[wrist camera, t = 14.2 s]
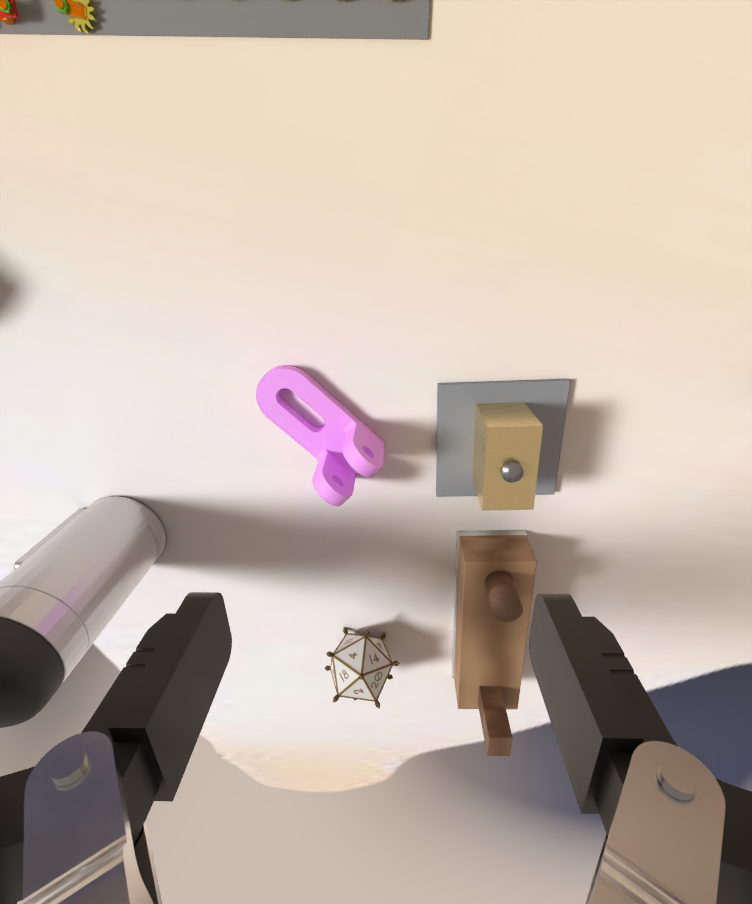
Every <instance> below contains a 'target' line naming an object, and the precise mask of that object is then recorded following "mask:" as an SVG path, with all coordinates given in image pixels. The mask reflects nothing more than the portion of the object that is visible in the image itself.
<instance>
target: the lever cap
mask: <svg viewBox="0 0 752 904" xmlns="http://www.w3.org/2000/svg"><path fill="white" fill-rule="evenodd" d="M542 431H543V425H542V424H541V423H540V421H539V420H538V419H537V418H536V416H535V415H534V414H533V413H532V411H531V410H530V409H529V408H528V407H527V405H526V404H525V403H524V402H517V403H484V404H475V424H474V445H473V465H472V481H473V484H474V487H475V490H476V493H477V496H478V499H479V502H480V505H481V508H482V510H529V509H533V507H534V499H535V490H536V482H537V473H538V465H539V456H540V448H541V440H542Z"/></svg>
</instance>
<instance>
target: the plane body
mask: <svg viewBox="0 0 752 904" xmlns="http://www.w3.org/2000/svg"><path fill="white" fill-rule="evenodd" d="M536 562H537V561H536V559H535V557H534V554H533V552H532V550H531V548H530V545H529V543H528V541H527V532H526V530H507V531H457V544H456V573H455V601H454V629H453V657H452V678H454V680H455V688H456V695H457V702H458V709H479V711H480V717H481V723H482V728H483V734H484V739H485V745H486V751H487V755H488V756H510V753H511V746H512V734H511V730H510V725H509V721H508V717H507V713H506V709H517V708H518V701H519V693H520V685H521V678H522V670H523V662H524V655H525V647H526V639H527V632H528V624H529V616H530V608H531V601H532V593H533V585H534V578H535V570H536Z"/></svg>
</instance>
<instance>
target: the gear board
mask: <svg viewBox="0 0 752 904" xmlns="http://www.w3.org/2000/svg"><path fill="white" fill-rule="evenodd" d="M429 4H430V0H0V34H42V35H118V36H193V37H269V38H345V39H420V40H427V39H428V22H429Z"/></svg>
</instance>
